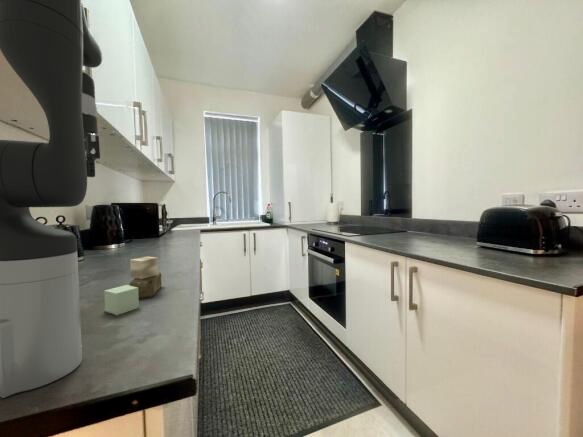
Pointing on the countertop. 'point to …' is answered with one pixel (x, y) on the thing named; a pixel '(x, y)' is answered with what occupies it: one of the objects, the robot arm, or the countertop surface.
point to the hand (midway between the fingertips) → (81, 178)
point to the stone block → (147, 285)
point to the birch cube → (144, 267)
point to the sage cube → (121, 299)
